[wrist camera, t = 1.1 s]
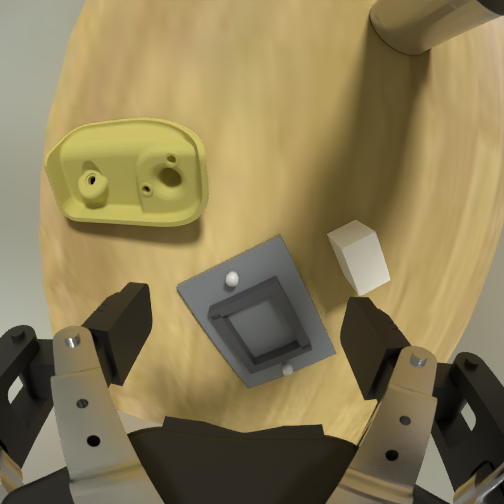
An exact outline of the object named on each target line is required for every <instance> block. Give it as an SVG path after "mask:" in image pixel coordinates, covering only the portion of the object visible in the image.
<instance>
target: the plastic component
mask: <svg viewBox="0 0 504 504" xmlns="http://www.w3.org/2000/svg"><path fill="white" fill-rule="evenodd" d="M44 167H45V170H46V173H47V176H48V179H49V182H50V185H51V188H52V191H53V194H54V197H55V199H56V202H57V205H58V207H59V209H60V210H61V212H62V213H63V214H64V215H65V216H66V217H67V218H69V219H71V220H73V221H79V222H96V223H112V224H127V225H141V226H159V227H172V226H181V225H185V224H188V223H191V222H193V221H194V220H196V219H197V218H198V217H199V216H200V215H201V214H202V213H203V212H204V210H205V208H206V206H207V202H208V195H209V190H208V177H207V163H206V154H205V148H204V145H203V143H202V141H201V140H200V138H199V137H198V136H197V135H196V134H195V133H194V132H192V131H191V130H189V129H188V128H186V127H184V126H182V125H180V124H178V123H175V122H172V121H168V120H163V119H156V118H130V119H120V120H112V121H104V122H97V123H90V124H86V125H82V126H80V127H78V128H76V129H74V130H72V131H71V132H69V133H68V134H67V135H65V136H64V137H63V138H62V139H61V140H60V141H59V142H58V143H57V144H56V145H55V146H54V147H53V148H52V150H51V151H50V152H49V153H48V154H47V155H46V157H45V160H44ZM173 169H174V170H176V171H177V172H176V171H174V170H173ZM93 177H95V182H94V184H92V185H91V179H92V178H93ZM146 186H147V187H149V189H150V190H147V189H146Z"/></svg>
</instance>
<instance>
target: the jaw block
mask: <svg viewBox="0 0 504 504" xmlns="http://www.w3.org/2000/svg"><path fill="white" fill-rule="evenodd" d="M327 236H328V238H329V241H330V243H331V245H332V248H333V250H334V253H335V255H336V257H337V260H338V262H339V265H340V267H341V270H342V272H343V275H344V276H345V278H346V279H347V280H348V282H349V283H350V284H351V286H352V287H353V288H354V290H355V291H356V292H357V294H358V295H359V296H361V295H363V294H365V293H367V292H369V291H371V290H373V289H375V288H377V287H378V286H380V285H382V284H384V283H386V282H388V281H389V280H390V276H389V273H388V269H387V266H386V263H385V259H384V256H383V253H382V250H381V247H380V244H379V241H378V238H377V235H376V232H375V231H374V230H372V229H370V228H369V227H367V226H365V225H364V224H362V223H360V222H359V221H357V220H354V221H352V222H350V223H348V224H346V225H344V226H342V227H340V228H338V229H336V230H334V231H332V232H330V233H327Z"/></svg>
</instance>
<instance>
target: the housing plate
mask: <svg viewBox="0 0 504 504" xmlns="http://www.w3.org/2000/svg"><path fill="white" fill-rule="evenodd" d="M176 288H177V290H178V291H179V293H180V294H181V296H182V297H183V299H184V300H185V302H186V303H187V305H188V306H189V308H190V309H191V311H192V312H193V314H194V315H195V317H196V318H197V320H198V321H199V322H200V324H201V325H202V327H203V328H204V330H205V331H206V332H207V334H208V335H209V337H210V338H211V340H212V341H213V342H214V344H215V345H216V346H217V348H218V349H219V351H220V352H221V353H222V355H223V356H224V357H225V359H226V360H227V361H228V363H229V364H230V365H231V367H232V368H233V369H234V371H235V372H236V373H237V375H238V376H239V377H240V378H241V380H242V381H243V382H244V384H245V385H246V386H247V387H248V388H251V387H254V386H257V385H260V384H262V383H265V382H268V381H271V380H273V379H276V378H279V377H281V376H290V375H292V374H293V372H294V371H297V370H299V369H302V368H304V367H306V366H309V365H311V364H314V363H316V362H318V361H320V360H323V359H325V358H327V357H329V356H332V355H334V354H336V352H335V349H334V347H333V345H332V343H331V340H330V338H329V336H328V334H327V332H326V329H325V327H324V325H323V323H322V321H321V319H320V316H319V314H318V312H317V310H316V308H315V306H314V304H313V301H312V299H311V297H310V295H309V293H308V291H307V289H306V287H305V285H304V283H303V280H302V278H301V276H300V274H299V272H298V270H297V268H296V266H295V264H294V262H293V260H292V258H291V256H290V254H289V252H288V250H287V248H286V246H285V244H284V241H283V239H282V237H281V235H280V234H279V235H277V236H275V237H273V238H271V239H269V240H267V241H265V242H263V243H261V244H259V245H257V246H255V247H253V248H251V249H249V250H247V251H245V252H243V253H241V254H238V255H236V256H234V257H232V258H230V259H228V260H226V261H224V262H222V263H220V264H218V265H216V266H214V267H212V268H210V269H208V270H206V271H204V272H202V273H200V274H198V275H196V276H194V277H192V278H190V279H188V280H186V281H184V282H182V283H180V284H178V285H177V287H176Z"/></svg>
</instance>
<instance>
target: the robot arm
mask: <svg viewBox="0 0 504 504" xmlns="http://www.w3.org/2000/svg"><path fill="white" fill-rule="evenodd" d="M501 16H504V0H377V2H376V3H375V4H374V5H373V6H372V8H371V10H370V20H371V22H372V25H373V27H374V29H375V31H376V32H377V33H378V35H379V36H380V37H381V38H382V39H383V40H384V41H385V42H386V43H387V44H388V45H390V46H391V47H392V48H394V49H396V50H397V51H400V52H402V53H404V54H409V55H418V54H421V53H423V52H425V51H427V50H429V49H430V48H432V47H434V46H437V45H439V44H441V43H443V42H445V41H447V40H449V39H451V38H453V37H455V36H457V35H459V34H461V33H464V32H466V31H468V30H470V29H472V28H475V27H477V26H479V25H482V24H484V23H486V22H489V21H491V20H493V19H496V18H499V17H501ZM151 329H152V310H151V301H150V291H149V286H148V284H144V283H134V282H129V283H128V284H127V285H126V286H125V287H124V288H123V289H122V290H121V292H120V293H119V292H117V293H115V294H113V295H111V296H109V297H107V298H106V299H105V301H104V302H103V303H102V304H101V305H100V306H99V307H98V308H97V309H96V311H94V312H93V313H92V315H91V316H90V317H89V318H88V319H87V320H86V321H85V322H84V323H83V324H82V326H70V327H66V328H64V329H62V330H60V331H58V332H57V333H56V334H55V336H54V338H53V340H47V339H37V337H36V334H35V331H34V329H33V328H32V327H30V326H27V325H20V326H16V327H13V328H11V329H10V330H8V331H7V332H6V333H5V334H4V335H3V336H2V337H1V338H0V504H450V503H448V502H446V501H444V500H442V499H440V498H438V497H437V496H435V495H433V494H432V493H430V492H428V491H426V490H425V489H423V488H421V487H420V486H418V485H416V484H415V483H416V480H417V477H418V474H419V471H420V468H421V465H422V462H423V459H424V455H425V451H426V448H427V445H428V441H429V437H430V433H431V434H432V437H433V439H434V441H435V444H436V446H437V448H438V451H439V453H440V456H441V458H442V460H443V463H444V466H445V468H446V471H447V473H448V476H449V479H450V481H451V484H452V487H453V490H454V492H455V494H454V498H453V504H504V387H503V385H502V384H501V383H500V381H499V380H498V379H497V377H496V376H495V375H494V374H493V372H492V371H491V370H490V369H489V367H488V366H487V365H486V364H485V362H484V361H483V360H482V359H481V358H480V357H478V356H477V355H475V354H472V353H469V352H461V353H459V354H458V355H457V356H456V358H455V360H454V362H453V364H447V363H437V359H436V357H435V356H434V355H433V354H432V353H431V352H430V351H428V350H426V349H424V348H422V347H418V346H411V345H410V343H409V342H408V340H407V339H406V338H405V336H404V335H403V334H402V332H401V331H400V330H398V327H397V326H396V324H394V322H393V321H392V319H391V318H390V317H389V315H387V314H386V313H384V312H383V311H382V310H380V309H377V308H376V306H375V305H374V304H373V302H372V301H371V300H370V298H368V297H350V298H349V300H348V303H347V308H346V312H345V316H344V320H343V324H342V328H341V333H340V340H341V345H342V347H343V350H344V352H345V354H346V357H347V359H348V361H349V364H350V366H351V368H352V371H353V373H354V376H355V378H356V380H357V383H358V385H359V388H360V390H361V393H362V395H363V398H364V400H372V399H377V401H378V403H377V405H376V406H375V408H374V410H373V413H372V415H371V417H370V419H369V421H368V423H367V425H366V426H365V428H364V430H363V432H362V434H361V436H360V438H359V440H358V441H357V443H356V445H355V444H353V443H351V442H349V441H346V440H344V439H340V438H337V437H333V436H329V435H324V431H323V427H322V424H320V425H300V426H281V427H277V428H271V429H266V430H261V431H255V432H248V433H241V432H237V431H233V430H229V429H226V428H222V427H219V426H216V425H212V424H209V423H206V422H202V421H193V420H186V419H179V418H173V417H167V416H165V419H164V423H163V426H162V427H151V428H146V429H141V430H137V431H134V432H131V433H129V434H126V432H125V430H124V427H123V425H122V422H121V420H120V418H119V415H118V413H117V410H116V408H115V405H114V403H113V400H112V398H111V395H110V392H109V390H108V388H109V386H110V384H111V383H112V384H116V385H120V386H123V384H124V382H125V380H126V378H127V376H128V374H129V372H130V370H131V368H132V366H133V364H134V362H135V360H136V358H137V356H138V355H139V353H140V351H141V349H142V347H143V345H144V343H145V341H146V340H147V338H148V336H149V334H150V332H151ZM18 376H19V378H20V380H21V382H22V384H23V387H22V389H21V390H20V391H19V393H18V394H17V396H16V397H15V399H14V400H13V401H12V403H11V404H10V403H9V400H8V390H9V388H10V386H11V385H12V384H13V382H14V381H15V380H16V378H17V377H18ZM467 402H468V404H469V405H470V407H471V409H472V410H473V412H474V414H475V416H476V424H475V427H474V428H473V430H472V431H471V430H470V428H469V426H468V425H467V423H466V421H465V419H464V417H463V416H462V414H461V411H462V409H463V408H464V406H465V405H466V403H467ZM53 406H54V410H55V416H56V421H57V427H58V431H59V436H60V441H61V445H62V449H63V453H64V457H65V460H66V464H67V466H66V467H64V468H62V469H60V470H58V471H56V472H54V473H51V474H50V475H47V476H45V477H42V478H40V479H38V480H36V481H33V482H31V483H28V484H26V485H24V484H23V483H22V479H23V477H22V472H21V468H22V466H23V464H24V462H25V460H26V458H27V456H28V454H29V452H30V450H31V448H32V445H33V443H34V441H35V440H36V437H37V436H38V434H39V432H40V430H41V428H42V426H43V424H44V422H45V420H46V419H47V417H48V415H49V413H50V411H51V410H52V408H53Z"/></svg>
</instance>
